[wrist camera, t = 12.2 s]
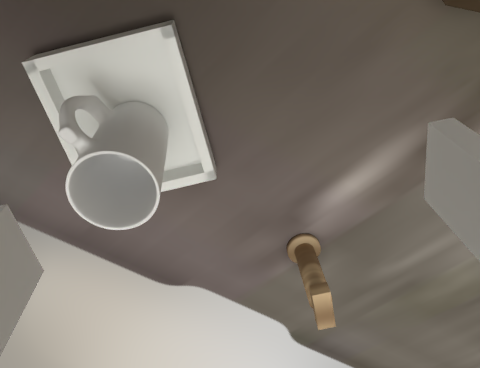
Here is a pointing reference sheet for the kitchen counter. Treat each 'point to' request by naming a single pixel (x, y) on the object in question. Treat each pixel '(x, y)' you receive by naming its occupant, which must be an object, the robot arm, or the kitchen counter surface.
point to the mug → (115, 162)
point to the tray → (131, 92)
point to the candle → (464, 4)
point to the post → (312, 277)
